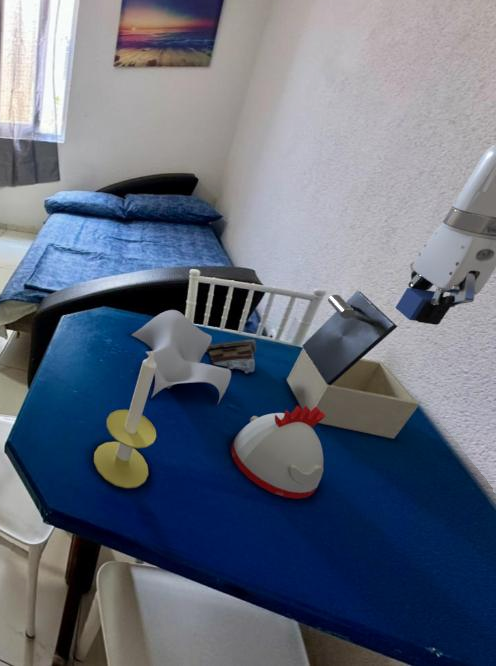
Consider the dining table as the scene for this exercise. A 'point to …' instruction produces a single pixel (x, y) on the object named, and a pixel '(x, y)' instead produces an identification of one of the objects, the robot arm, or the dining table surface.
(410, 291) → the blue block
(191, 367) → the sculpture
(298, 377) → the open box
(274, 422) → the kitchen timer
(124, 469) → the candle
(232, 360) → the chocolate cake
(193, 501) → the dining table surface
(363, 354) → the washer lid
